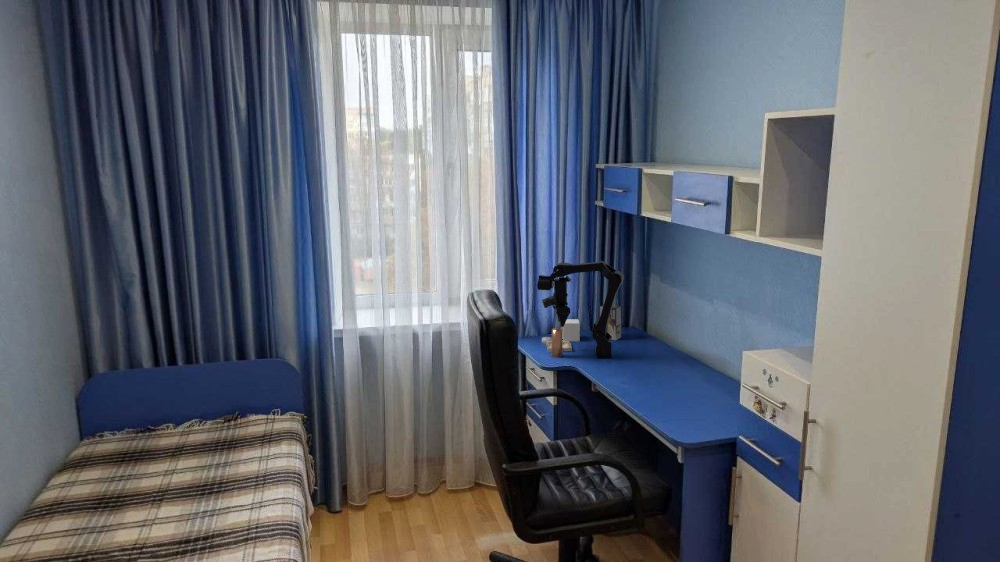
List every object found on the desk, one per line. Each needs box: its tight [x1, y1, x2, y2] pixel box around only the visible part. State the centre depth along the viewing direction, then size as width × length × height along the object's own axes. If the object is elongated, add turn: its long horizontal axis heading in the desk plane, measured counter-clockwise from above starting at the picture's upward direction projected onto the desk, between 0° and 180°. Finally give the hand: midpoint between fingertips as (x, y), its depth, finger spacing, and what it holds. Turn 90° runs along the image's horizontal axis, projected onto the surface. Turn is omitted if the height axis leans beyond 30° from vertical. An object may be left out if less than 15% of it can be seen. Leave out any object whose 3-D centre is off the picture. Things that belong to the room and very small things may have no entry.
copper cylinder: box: [551, 327, 563, 358], centre depth 305 cm, size 5×5×12 cm
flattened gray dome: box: [541, 336, 552, 345], centre depth 326 cm, size 5×5×2 cm
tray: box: [545, 340, 573, 353], centre depth 317 cm, size 11×11×2 cm
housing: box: [560, 318, 581, 342], centre depth 331 cm, size 8×8×9 cm
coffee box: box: [599, 304, 622, 341], centre depth 333 cm, size 9×6×16 cm
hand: (560, 324), depth 308 cm, fingers open, 9 cm apart
